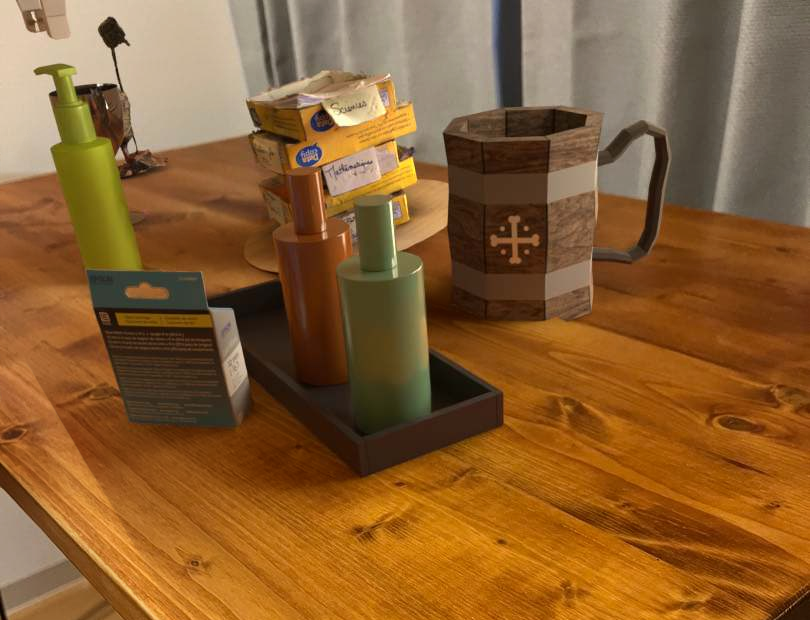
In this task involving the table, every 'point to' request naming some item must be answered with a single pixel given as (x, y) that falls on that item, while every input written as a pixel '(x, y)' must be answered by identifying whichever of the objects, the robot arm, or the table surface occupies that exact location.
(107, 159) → the soap dispenser
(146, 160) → the plant with pod
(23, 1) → the robot arm
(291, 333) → the amber bottle
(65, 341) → the table surface
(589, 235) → the mug
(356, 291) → the green bottle
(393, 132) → the yellow box stack
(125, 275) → the label tape box
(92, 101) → the wine glass
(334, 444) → the tray
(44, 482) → the table surface
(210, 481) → the table surface
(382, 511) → the table surface
